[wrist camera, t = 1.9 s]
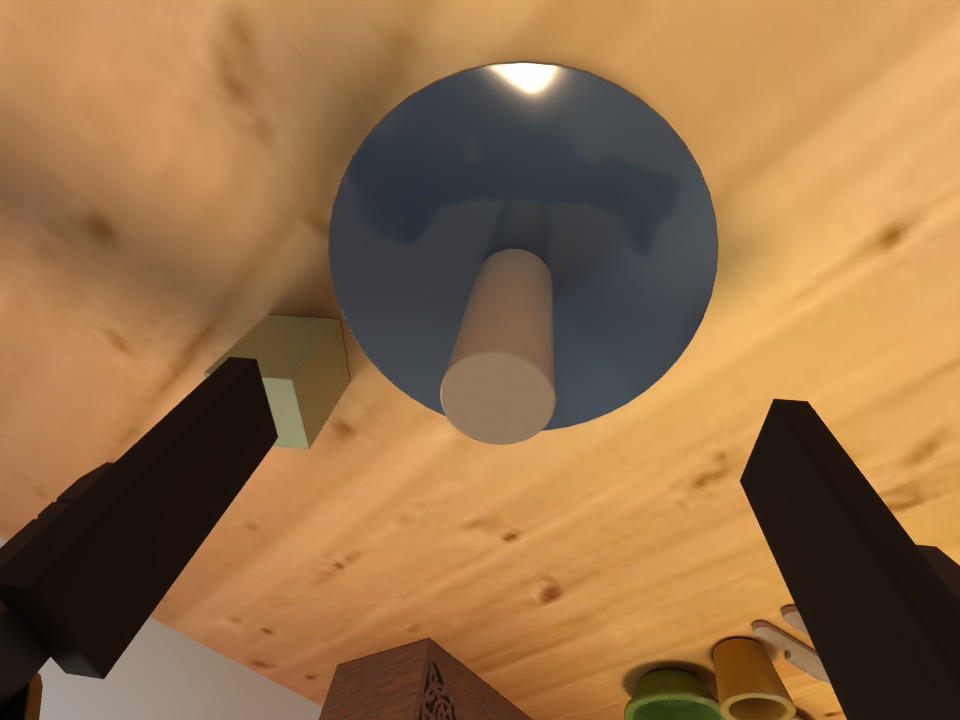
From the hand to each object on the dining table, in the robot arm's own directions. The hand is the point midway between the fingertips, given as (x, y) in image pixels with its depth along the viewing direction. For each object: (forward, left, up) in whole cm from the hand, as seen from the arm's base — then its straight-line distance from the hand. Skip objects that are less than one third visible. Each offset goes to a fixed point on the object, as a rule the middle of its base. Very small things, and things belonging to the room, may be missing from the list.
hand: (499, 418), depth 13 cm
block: (-14, -9, -17) cm, 24 cm away
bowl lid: (0, 0, -9) cm, 9 cm away
